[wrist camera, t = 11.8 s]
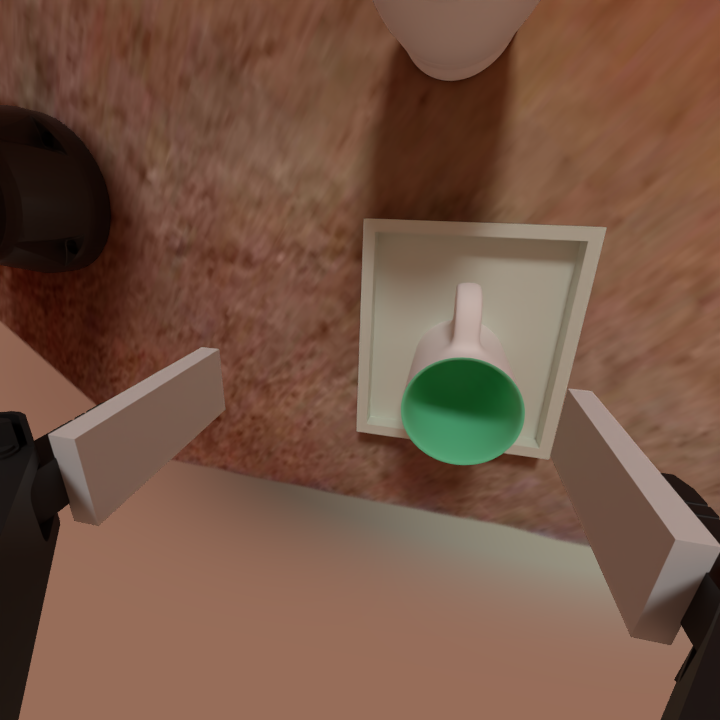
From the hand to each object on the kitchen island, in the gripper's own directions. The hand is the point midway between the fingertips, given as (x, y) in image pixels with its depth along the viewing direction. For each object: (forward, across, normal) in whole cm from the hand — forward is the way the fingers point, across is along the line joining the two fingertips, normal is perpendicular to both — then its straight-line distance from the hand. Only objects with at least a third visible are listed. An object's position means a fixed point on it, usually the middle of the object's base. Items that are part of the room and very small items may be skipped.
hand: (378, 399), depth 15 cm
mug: (+21, +4, -4) cm, 22 cm away
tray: (+22, +5, -4) cm, 23 cm away
